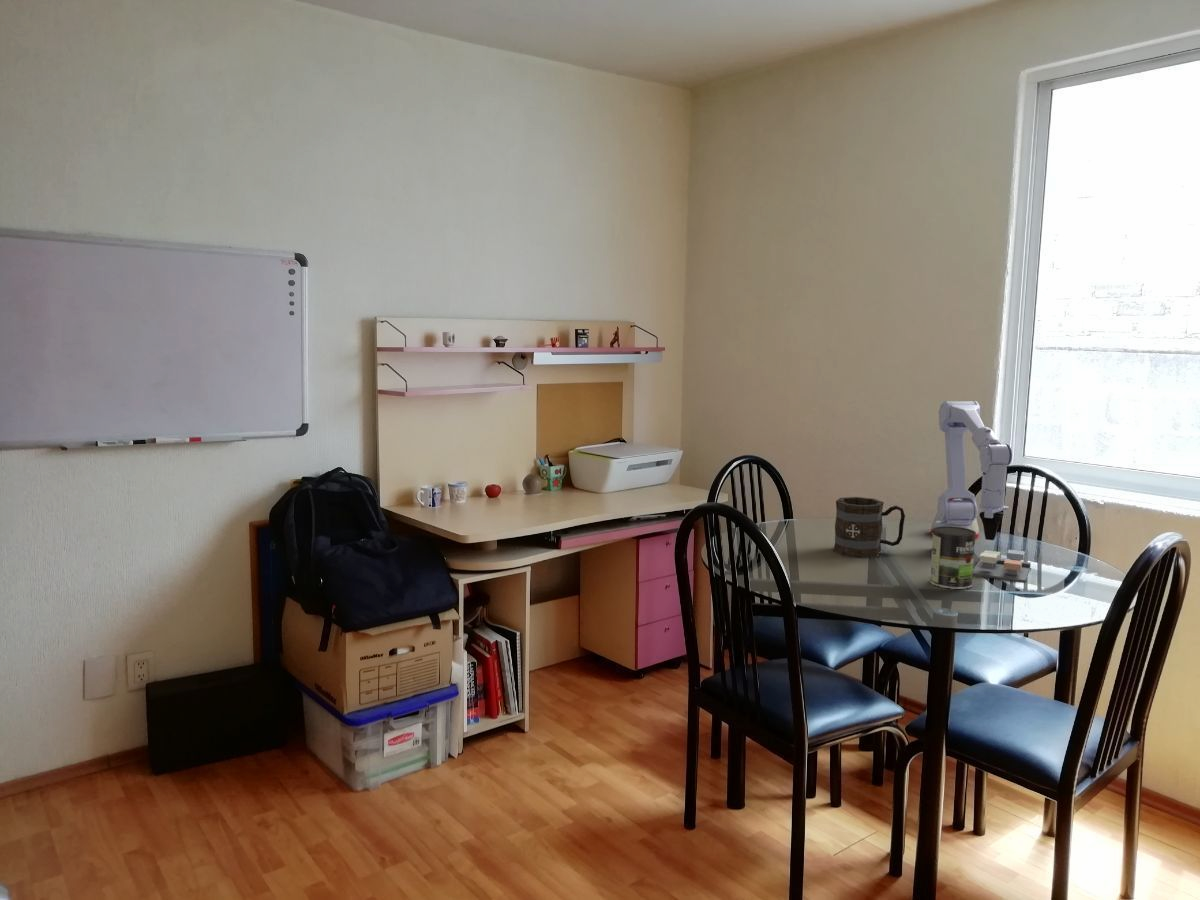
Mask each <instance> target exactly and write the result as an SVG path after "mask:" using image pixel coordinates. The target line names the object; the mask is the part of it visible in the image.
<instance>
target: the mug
mask: <svg viewBox="0 0 1200 900" xmlns="http://www.w3.org/2000/svg"><path fill="white" fill-rule="evenodd" d="M835 505H836V510H835V511H836V513H835V515H836V516H835V521H834V522H835V523H834V533H835V534H834V547H833V552H835V553H837V554H838V555H841V556H842V557H843V556H844V557H850V558H856V559H857V558H859V559H865V558H867V557H868V558H872V557H871V556H877V555H878V554H879V552H880V551H881V552H882V548H881V544H883V545H888V546H891V547H894V546H898V545H900V542H901V541H902V539H903V535H904V524H905V518H906V514H905V511H904V509H903V507H900V506H898V505H894V506H890V507H889V508H888V509H886V511H883V509H884V501H881V500H878V499H877V498H870V497H863V496H862V497H861V496H849V497H848V496H847V497H846V496H845V497H840V498H839V497H838V499H837V500H835ZM896 510H898V511H900V519H899V520H900V521H899V525H898V536H897V537H896V538H897V539H896V540H895V541H890V540H887V539H882V533H883V517H885V516H888V515H890V514H891V513H892V512H893V511H896ZM879 555H880V554H879ZM879 555H878V556H879ZM878 556H877V557H878ZM868 558H867V559H868Z"/></svg>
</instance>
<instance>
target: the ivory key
mask: <svg viewBox="0 0 1200 900" xmlns="http://www.w3.org/2000/svg"><path fill="white" fill-rule="evenodd" d="M979 556H980V560H979V559H978V560H979V562H983V567H985V568H993V566H994V564H996V562H997V559H998V554H990V553H984V552H981V553H980V555H979Z"/></svg>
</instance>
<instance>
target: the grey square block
mask: <svg viewBox="0 0 1200 900" xmlns="http://www.w3.org/2000/svg"><path fill="white" fill-rule="evenodd" d="M1006 553H1007V554H1006V559H1009V560H1017V561H1022V562H1024V560H1025V555H1026V551H1024V550H1016V549H1015V550H1014V549H1008V550H1007V552H1006Z"/></svg>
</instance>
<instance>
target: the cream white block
mask: <svg viewBox="0 0 1200 900" xmlns="http://www.w3.org/2000/svg"><path fill="white" fill-rule="evenodd" d="M983 553H990V554H998V559H997V561H999V559H1001V551H995V550H984V551H983ZM995 565H996V564H994V566H995Z"/></svg>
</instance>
